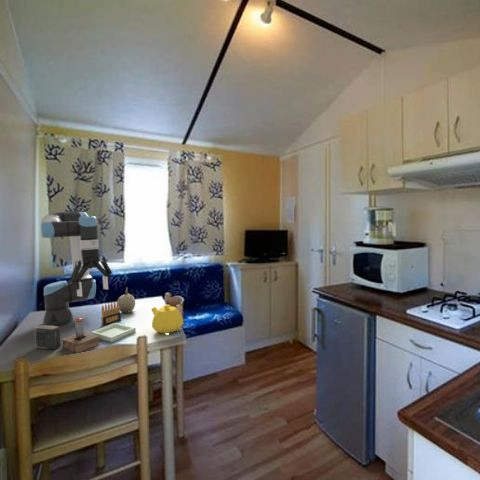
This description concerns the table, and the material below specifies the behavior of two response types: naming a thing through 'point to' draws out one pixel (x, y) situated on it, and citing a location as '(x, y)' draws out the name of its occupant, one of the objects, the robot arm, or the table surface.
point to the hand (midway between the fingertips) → (93, 292)
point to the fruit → (126, 302)
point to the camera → (47, 337)
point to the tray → (113, 332)
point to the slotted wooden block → (80, 342)
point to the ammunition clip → (110, 314)
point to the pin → (79, 328)
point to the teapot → (166, 319)
